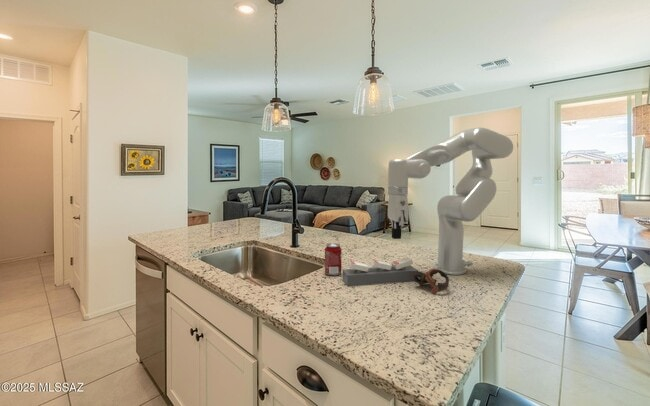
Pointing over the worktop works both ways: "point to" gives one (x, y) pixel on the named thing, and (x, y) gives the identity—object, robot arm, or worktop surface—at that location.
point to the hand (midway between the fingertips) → (396, 238)
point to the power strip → (378, 276)
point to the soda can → (333, 259)
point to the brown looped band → (431, 280)
